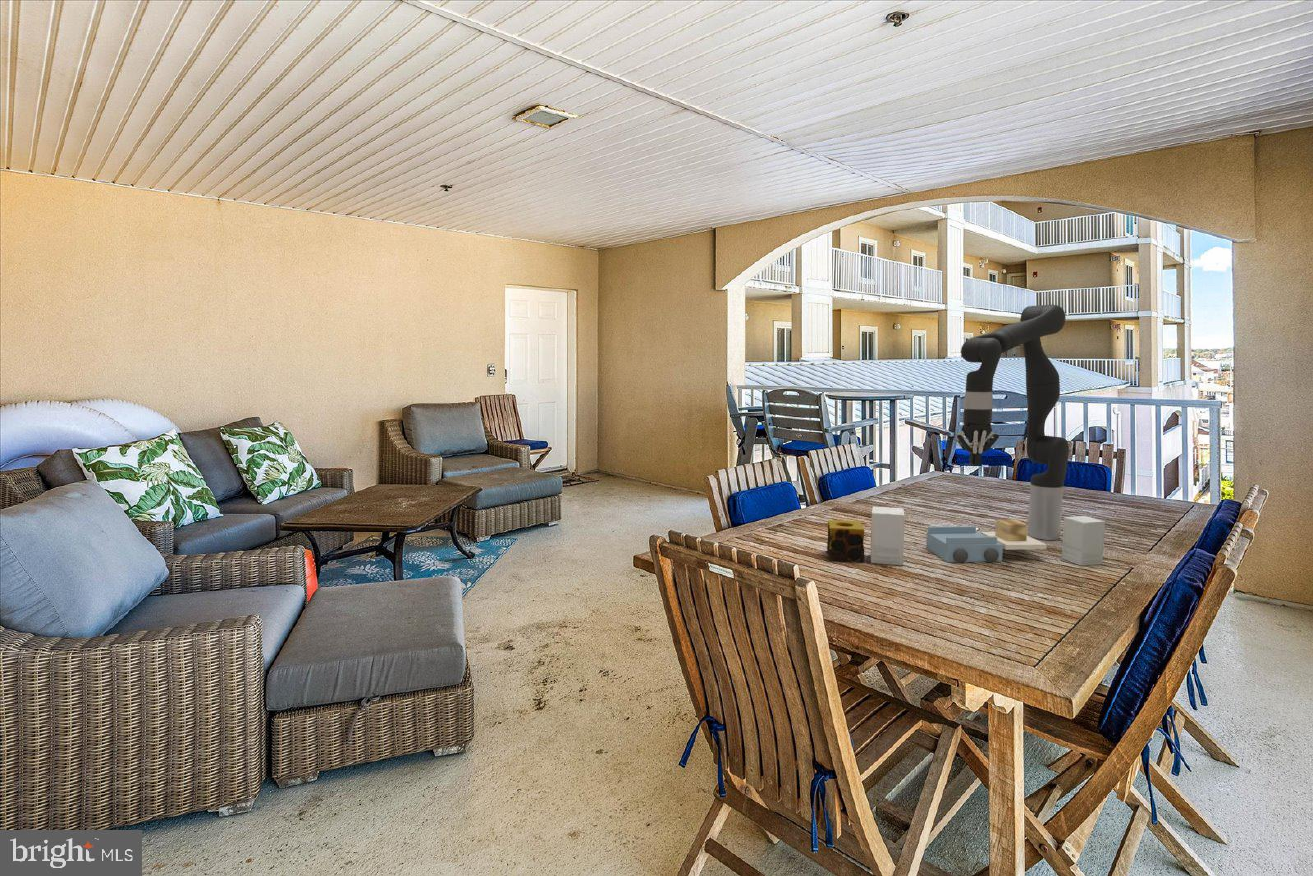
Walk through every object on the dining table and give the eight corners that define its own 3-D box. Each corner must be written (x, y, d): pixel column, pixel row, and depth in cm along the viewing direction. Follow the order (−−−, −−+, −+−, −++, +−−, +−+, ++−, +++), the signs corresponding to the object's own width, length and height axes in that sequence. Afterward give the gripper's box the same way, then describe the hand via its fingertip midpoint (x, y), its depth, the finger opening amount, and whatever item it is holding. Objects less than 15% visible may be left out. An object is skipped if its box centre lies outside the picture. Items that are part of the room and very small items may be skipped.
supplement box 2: (1103, 564, 186) (1106, 521, 185) (1080, 566, 185) (1083, 522, 184) (1082, 557, 194) (1085, 515, 192) (1060, 558, 192) (1063, 516, 191)
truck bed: (975, 546, 205) (976, 524, 204) (1003, 562, 189) (1004, 538, 188) (925, 547, 204) (926, 525, 203) (948, 563, 189) (950, 539, 188)
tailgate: (980, 536, 203) (1018, 536, 204) (1005, 549, 189) (1046, 549, 190) (980, 531, 203) (1018, 531, 204) (1006, 544, 189) (1046, 544, 190)
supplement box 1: (902, 557, 195) (904, 507, 193) (903, 566, 186) (905, 514, 184) (870, 554, 197) (872, 505, 196) (869, 563, 189) (871, 512, 187)
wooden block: (1014, 535, 199) (1015, 519, 199) (1026, 541, 193) (1027, 524, 193) (995, 535, 199) (996, 519, 198) (1006, 541, 193) (1007, 524, 192)
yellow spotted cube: (864, 563, 189) (865, 529, 188) (828, 561, 191) (829, 528, 190) (860, 552, 199) (861, 520, 198) (826, 551, 201) (827, 519, 200)
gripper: (993, 406, 195) (989, 463, 197) (949, 406, 194) (946, 464, 197) (1007, 408, 188) (1003, 467, 190) (962, 408, 187) (959, 468, 189)
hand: (974, 465), depth 193 cm, fingers closed
